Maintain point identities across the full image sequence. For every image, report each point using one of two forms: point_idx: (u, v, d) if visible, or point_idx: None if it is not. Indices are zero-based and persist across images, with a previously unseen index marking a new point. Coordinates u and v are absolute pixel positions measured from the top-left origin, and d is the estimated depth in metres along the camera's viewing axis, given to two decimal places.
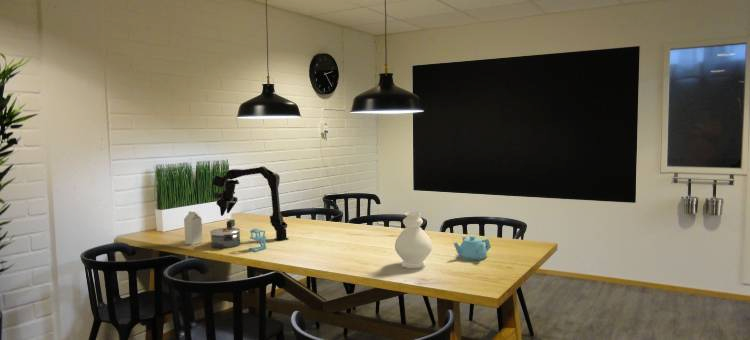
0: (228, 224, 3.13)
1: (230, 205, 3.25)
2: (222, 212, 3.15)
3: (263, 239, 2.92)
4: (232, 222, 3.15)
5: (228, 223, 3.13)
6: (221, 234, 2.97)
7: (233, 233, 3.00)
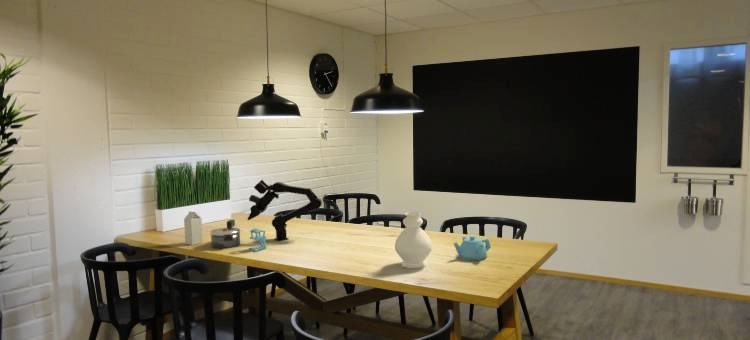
0: (228, 224, 3.13)
1: None
2: (250, 217, 3.12)
3: (263, 239, 2.92)
4: (232, 222, 3.15)
5: (228, 223, 3.13)
6: (221, 234, 2.97)
7: (233, 233, 3.00)
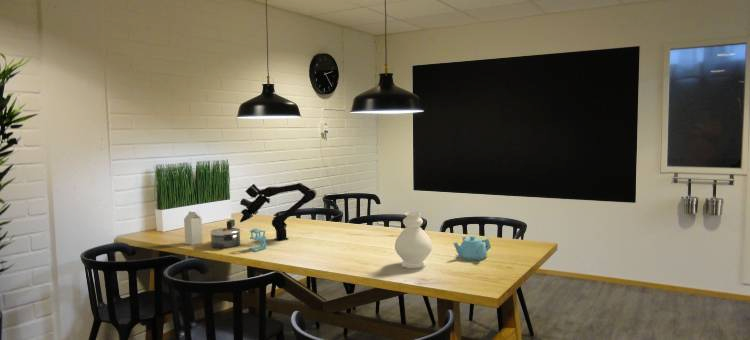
0: (228, 224, 3.13)
1: None
2: (242, 219, 3.16)
3: (263, 239, 2.92)
4: (232, 222, 3.15)
5: (228, 223, 3.13)
6: (221, 234, 2.97)
7: (233, 233, 3.00)
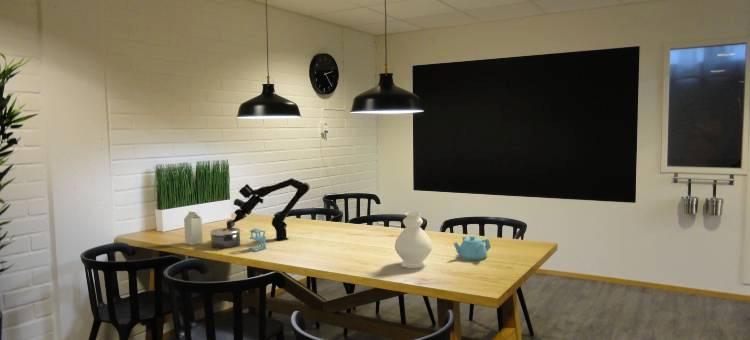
0: (228, 224, 3.13)
1: None
2: (236, 220, 3.16)
3: (263, 239, 2.92)
4: (232, 222, 3.15)
5: (228, 223, 3.13)
6: (221, 234, 2.97)
7: (233, 233, 3.00)
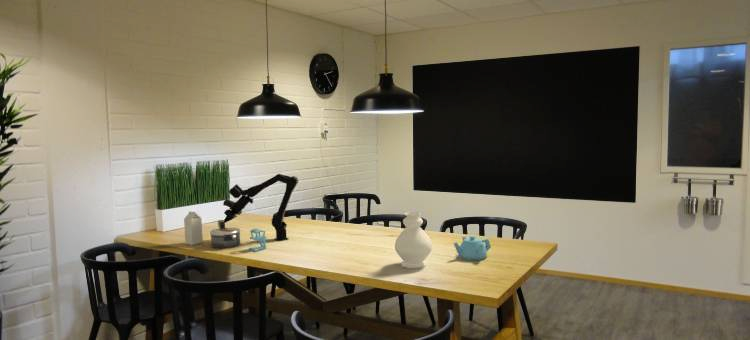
0: (221, 224, 3.12)
1: None
2: (226, 220, 3.16)
3: (263, 239, 2.92)
4: None
5: (221, 223, 3.12)
6: (228, 233, 2.98)
7: (238, 232, 3.04)
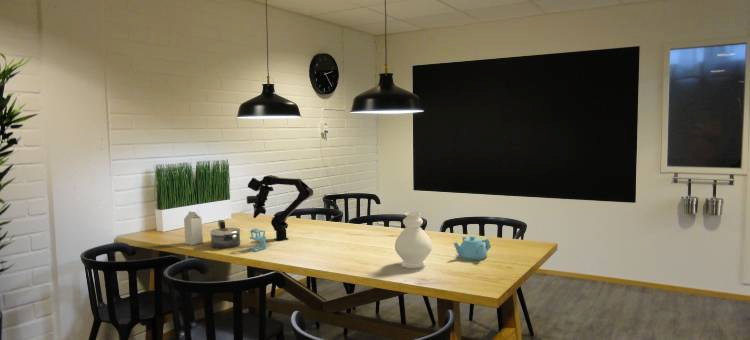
0: (222, 224, 3.12)
1: None
2: (256, 215, 3.20)
3: (263, 239, 2.92)
4: None
5: (221, 223, 3.12)
6: (228, 233, 2.98)
7: (238, 232, 3.03)
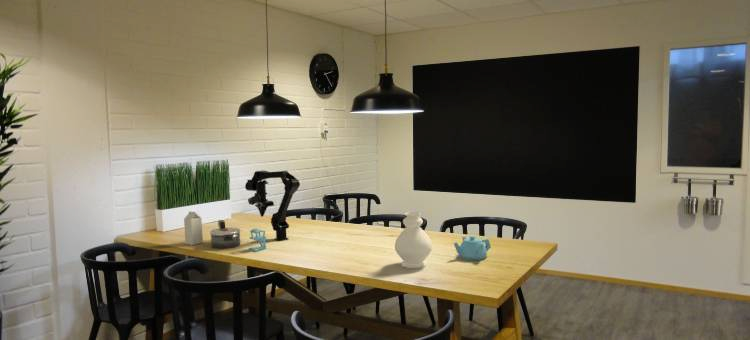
0: (222, 224, 3.12)
1: None
2: (263, 212, 3.24)
3: (263, 239, 2.92)
4: None
5: (221, 223, 3.12)
6: (228, 233, 2.98)
7: (238, 232, 3.03)
